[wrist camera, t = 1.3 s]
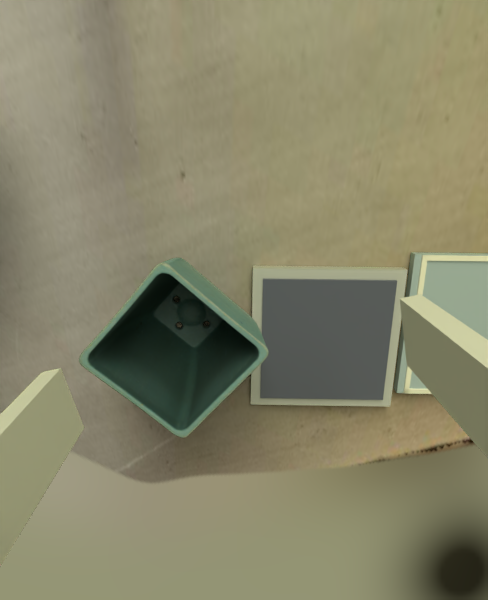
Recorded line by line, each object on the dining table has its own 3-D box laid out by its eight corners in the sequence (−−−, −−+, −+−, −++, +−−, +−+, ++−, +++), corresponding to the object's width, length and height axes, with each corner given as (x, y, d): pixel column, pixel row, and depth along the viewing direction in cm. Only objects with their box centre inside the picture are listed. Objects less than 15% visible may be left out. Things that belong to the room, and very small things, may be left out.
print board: (393, 388, 36) (397, 393, 35) (411, 252, 32) (415, 254, 31) (543, 390, 36) (550, 396, 35) (576, 254, 32) (586, 256, 31)
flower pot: (198, 379, 36) (182, 443, 27) (118, 315, 34) (73, 361, 26) (266, 308, 34) (272, 353, 25) (184, 237, 32) (161, 259, 24)
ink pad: (250, 398, 36) (250, 406, 35) (252, 265, 33) (252, 269, 31) (386, 400, 36) (391, 408, 35) (402, 267, 33) (408, 270, 31)
